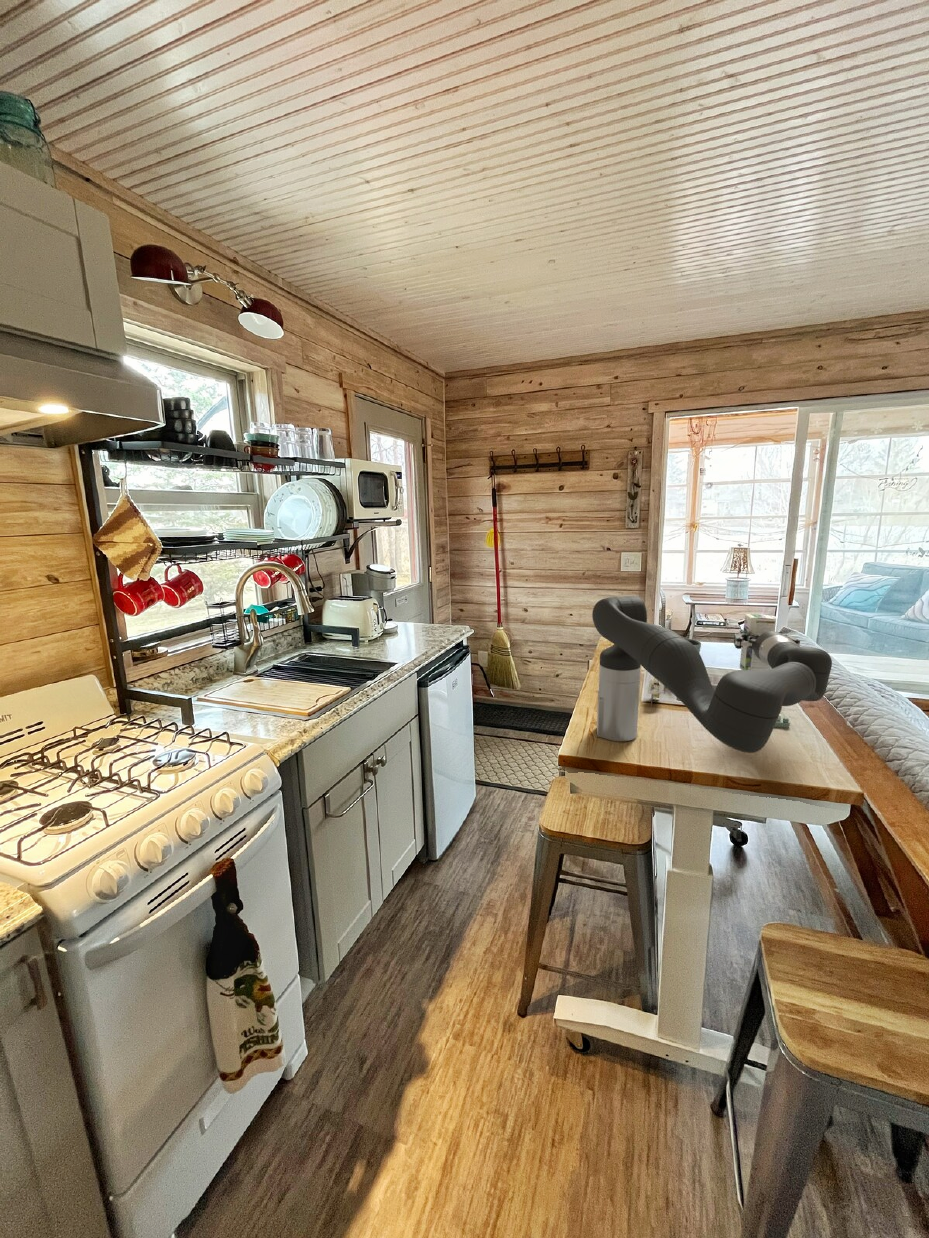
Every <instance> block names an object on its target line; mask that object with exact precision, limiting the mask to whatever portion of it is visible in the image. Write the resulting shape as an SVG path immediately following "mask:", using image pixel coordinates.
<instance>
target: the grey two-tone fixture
mask: <svg viewBox="0 0 929 1238" xmlns="http://www.w3.org/2000/svg"><path fill="white" fill-rule="evenodd" d="M652 679H653V680H651V679H649V682H648V686H647V694H649V695H651V697H650V698H651V700H650V707H651V708H652V707H653V701H652V699H653V698H659V699H660V694H663V693H664V689H665V686H664V685H663V684H662V683H661V682H660V681H658V680H657V679H656V678H654V677H653V678H652ZM656 685H657V686H658V689H657V688H655V686H656ZM653 700H654V699H653Z"/></svg>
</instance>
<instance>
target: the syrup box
mask: <svg viewBox="0 0 929 1238" xmlns="http://www.w3.org/2000/svg"><path fill="white" fill-rule="evenodd" d="M743 623H744V624H743V630H742V631H744V632H746V633H747V634H752V633H753V634H757V635H762V634H763V633H766V632H771V631H774V632H776V623H777V618H774V617H772V616H770V615H769V614H762V613H746V614H744V622H743ZM754 638H755V637H754ZM739 662H740V663H739V669H740V670H756V669H771V668H769V667H768V666H767V665H766V664H764V663H763V662H762V661H761V660H760V659H759V658H758V657H757V656H756V655H755V653H754V650H753V649H750V648H748V647H747V646H743V647H741V650H740V660H739Z"/></svg>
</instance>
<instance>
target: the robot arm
mask: <svg viewBox="0 0 929 1238" xmlns="http://www.w3.org/2000/svg"><path fill="white" fill-rule="evenodd" d="M591 617H592V622H593V625H594V628H595V629H596V631H597V632H598V634H599V635H600V636H601V637H602V638H604V639H606V640H607V641H609V642H610V643H612V644H613V645H610V646H609V647H606V648H605V649H602V651H601V652H600V654H599V667H598V668H599V669H598V671H599V672H598V690H597V708H596V709H597V710H596V737H597V738H603V739H604V740H609V741H614V742H629V741H633V740H635V739H636V738H637V737H638V736H637V735H638V729H639V728H638V725H639V724H638V723H639V721H638V719H639V701H640V687H641V686H640V684H641V683H640V682H641V667H642V668H643V669H644V670H645V671H647V673H649V674H650V675H651V676H652V677H653V678H654V679H655V678H656V681H657V680H658V682H659V681H660V682H661V683H662V684H663V685H664V687H665V688H667V690H669V691H670V692H671V693H672V694H673V696H675V697H676V698H677V699H678V700H679V701H681V703H682V704H683V705H684V706H685V707H686V708H687V709H688V711H689V712H690V713H691V714H692V716H694V718H695V719H696V720H697V721H698V722H699V723H700V724H701V726H702V727H703V728H704V729H705V730H706V731H707V732H708V733H709V734H711V736H713V737H714V738H715V739H717V740H718V741H720V743H722V744H724V745H725V746H727V747H729V748H731V749H733V750H736V751H739V752H741V753H748V754H749V753H750V754H752V753H757V752H760V751H761V750H762V749H763V748H764V747H765V746H766V744H767V743H768V741H769V739H770V737H771V735H772V733H773V731H774V728H775V727H774V726H775V724H776V721H777V719H778V717H779V714H780V713H781V712H782V708H783V707H790V706H794V705H796V704H799V703H800V702H802V701H805V702H818V701H820V700H821V699H823V697H824V696H825V695H826V694H825V693H826V691H827V687H828V683H829V679H830V674H831V671H832V666H833V660H832V657H831V655H830V654H829V652H827V651H826V650H824V649H822V648H818V647H813V646H801V640H800V639H798V638H796V637H794V636H791V635H789V634H783V633H781V632H778V631H775V632H774V631H771V632H766V633H763V634H762V635H757V634H753V633H752V634H747V633H746V632H744V631H743V630H739V632H735V633H734V637H733V645H734V647H735V649H737V650H740V649H741V648H742V647H743V646H747V647H748V648H750V649H753V650H754V653H755V655H756V656H757V657H758V658H759V659H760V660H761V661H762V662H763V663H764V664H766V665H767V666H768V667H769V668H771V669H756V670H741V669H740V670H734V671H730V672H728V673H726V674H724V675H723V676H722V677H721V678H720V680H719V681H718V683H717V685H716V687H715V689H714V687H713V684H712V682H711V680H710V677H709V673H708V671H707V668H706V666H705V662H704V660H703V658H702V656H701V654H700V652H698V650H697V649H696V648H695V646H694V645H693V644H691V643H690V642H689V641H687V640H686V639H687V638H686V639H684V637H683V636H681V635H680V634H678V633H677V632H676V631H673V630H672V629H669V628H667V627H665V626H664V627H663V626H661V625H657V624H653V623H650V622H648V611H647V607H646V604H645V602H644V601H643V599H642V598H641V597H639V596H637V595H635V596H634V595H633V596H631V595H630V596H614V597H613V596H612V597H611V596H610V597H604V598H602V599H600V600H599V601H597V602H596V603H595V604H594V606H593V608H592V613H591ZM754 637H755V638H754Z"/></svg>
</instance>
